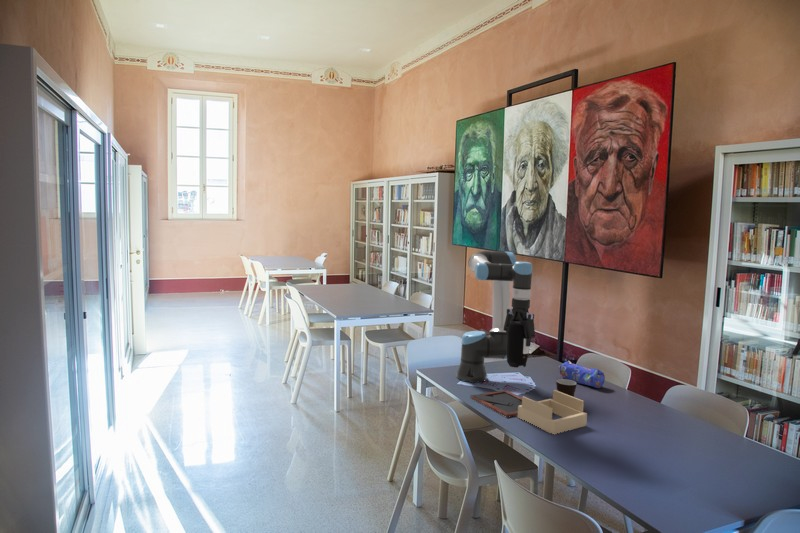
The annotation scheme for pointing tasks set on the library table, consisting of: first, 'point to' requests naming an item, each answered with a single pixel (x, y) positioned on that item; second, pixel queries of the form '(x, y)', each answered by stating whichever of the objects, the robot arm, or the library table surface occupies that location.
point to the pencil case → (582, 374)
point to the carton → (560, 405)
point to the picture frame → (500, 402)
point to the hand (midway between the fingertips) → (517, 350)
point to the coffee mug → (566, 386)
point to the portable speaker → (516, 344)
